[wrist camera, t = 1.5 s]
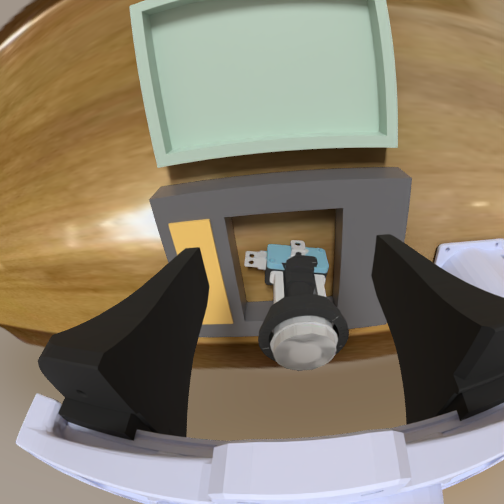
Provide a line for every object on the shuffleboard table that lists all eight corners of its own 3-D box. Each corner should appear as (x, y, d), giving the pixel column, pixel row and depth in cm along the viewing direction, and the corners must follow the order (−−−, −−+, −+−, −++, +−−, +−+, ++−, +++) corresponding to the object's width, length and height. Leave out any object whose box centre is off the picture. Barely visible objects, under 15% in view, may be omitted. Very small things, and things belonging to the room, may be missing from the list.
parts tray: (371, -12, 12) (381, -20, 10) (386, 141, 18) (397, 147, 16) (141, 11, 13) (129, 6, 12) (167, 159, 20) (157, 167, 18)
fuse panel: (397, 167, 19) (413, 179, 17) (379, 306, 26) (386, 325, 24) (161, 186, 21) (148, 200, 19) (200, 318, 28) (195, 338, 26)
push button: (244, 276, 25) (232, 373, 17) (248, 221, 22) (235, 315, 14) (319, 282, 25) (336, 378, 17) (332, 229, 22) (364, 323, 14)
